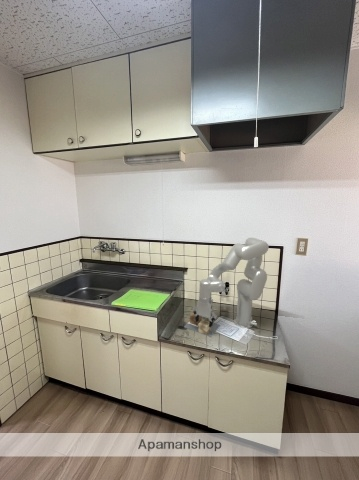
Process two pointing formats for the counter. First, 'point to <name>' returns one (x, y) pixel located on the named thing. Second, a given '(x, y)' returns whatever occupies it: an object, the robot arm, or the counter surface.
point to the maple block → (204, 327)
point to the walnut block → (192, 319)
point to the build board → (196, 328)
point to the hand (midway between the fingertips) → (203, 323)
